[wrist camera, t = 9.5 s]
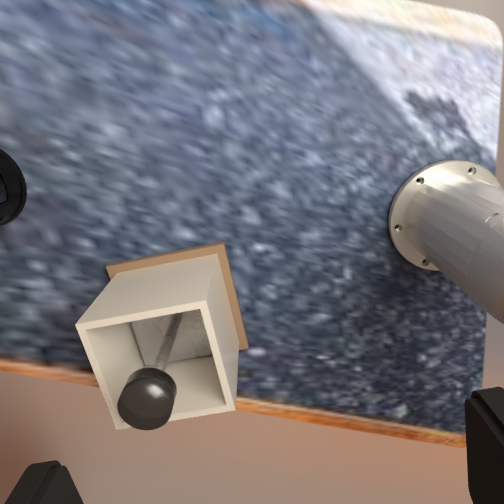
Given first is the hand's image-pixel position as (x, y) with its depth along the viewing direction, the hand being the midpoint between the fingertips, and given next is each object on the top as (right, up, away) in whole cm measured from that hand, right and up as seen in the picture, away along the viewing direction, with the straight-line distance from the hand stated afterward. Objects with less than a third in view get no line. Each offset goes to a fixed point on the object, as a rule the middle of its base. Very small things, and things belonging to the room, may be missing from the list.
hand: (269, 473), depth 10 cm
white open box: (-9, -1, +41) cm, 42 cm away
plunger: (-9, -3, +38) cm, 39 cm away
